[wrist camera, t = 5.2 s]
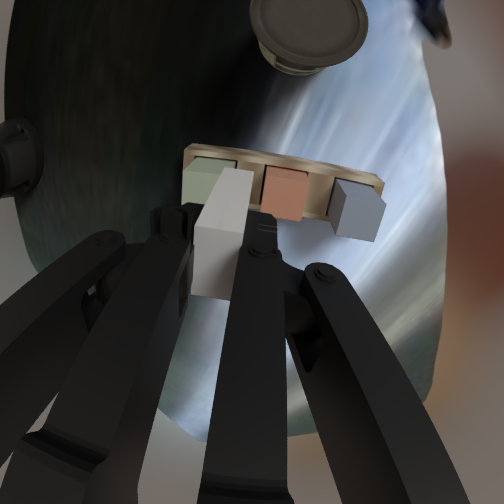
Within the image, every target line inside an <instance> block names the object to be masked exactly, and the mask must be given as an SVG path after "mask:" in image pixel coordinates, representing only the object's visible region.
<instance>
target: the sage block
mask: <svg viewBox="0 0 504 504" xmlns="http://www.w3.org/2000/svg"><path fill="white" fill-rule="evenodd" d="M235 166H236V160H229V159H220V158H212V157H202V156H198V157H197V158H196V159H195V160H194V161H193V162H191V163H190V164H189V165H188V166H187V167H186V168H185V169H184V170H183V181H182V205H183V204H185V203H187V202H192V203H199V204H206V202H207V200H208V198H209V196H210V194H211V192H212V190H213V188H214V186H215V184H216V182H217V181H218V179H219V177H220V175H221V173H222V171H223V169H224V167H227V168H234V169H235Z"/></svg>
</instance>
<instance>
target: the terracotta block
mask: <svg viewBox="0 0 504 504" xmlns="http://www.w3.org/2000/svg"><path fill="white" fill-rule="evenodd" d="M308 188H309V180H308V177H307V174H306V171H303V170H297V169H291V168H285V167H279V166H273V165H267V168H266V174H265V181H264V187H263V193H262V201H261V210H260V212H263V213H269V214H272V215H273V216H274V217H275V218H282V219H288V220H294V221H300V222H301V219H302V215H303V211H304V206H305V202H306V197H307V193H308Z"/></svg>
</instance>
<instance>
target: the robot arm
mask: <svg viewBox="0 0 504 504" xmlns="http://www.w3.org/2000/svg"><path fill="white" fill-rule="evenodd" d="M42 169H43V148H42V144H41V140H40V137H39V135H38V133H37V131H36V129H35V127H34V126H33V125H32V124H31V123H30V122H29V121H28V120H27V119H25V118H22V117H15V118H12V119H9V120H6V121H4V122H3V123H1V124H0V198H6V197H12V196H19V195H22V194H25V193H26V192H28V191H30V190H31V189H33V188H34V187H35V186H36V185H37V183H38V181H39V179H40V177H41V174H42ZM253 176H254V172H253V171H247V170H240V169H234V168H227V167H224V169H223V171H222V173H221V175H220V177H219V179H218V181H217V182H216V184H215V186H214V188H213V190H212V192H211V194H210V196H209V198H208V200H207V202H206V204H199V203H192V202H187V203H185V204H183V205H181V206H173V205H167V206H160V207H157V208H154V209H153V210H152V211H150V222H151V235H150V237H149V238H148V240H147V241H146V243H138V244H126V240H125V236H124V235H123V234H122V233H120V232H118V231H113V230H103V231H100V232H97V233H95V234H93V235H91V236H89V237H88V238H86V239H85V240H83V241H82V242H81V243H79V244H78V245H76V246H75V247H73V248H72V249H71V250H69V251H68V252H67V253H65V254H64V255H62V256H61V257H60V258H58V259H57V260H56V261H54V262H53V263H52V264H50V265H49V266H48V267H46V268H45V269H44V270H42V271H41V272H40V273H39V274H37V275H36V276H35V277H33V278H32V279H31V280H30V281H28V282H27V283H26V284H25V285H24V286H22V287H21V288H20V289H19V290H17V291H16V292H15V293H14V294H13V295H12V296H10V297H9V298H8V299H7V300H6V301H4V303H2V304H1V305H0V468H1V466H2V465H3V464H4V462H5V461H6V460H7V459H8V457H9V456H10V455H11V453H12V452H13V450H14V452H13V454H12V457H11V459H10V462H9V465H8V468H7V470H6V473H5V476H4V479H3V482H2V485H1V488H0V504H138V493H137V487H138V481H139V477H140V473H141V468H142V464H143V460H144V456H145V452H146V448H147V444H148V440H149V436H150V433H151V429H152V425H153V421H154V417H155V414H156V410H157V407H158V403H159V399H160V396H161V392H162V389H163V385H164V382H165V378H166V375H167V371H168V368H169V365H170V361H171V358H172V354H173V351H174V348H175V345H176V341H177V338H178V335H179V332H180V328H181V325H182V322H183V319H184V316H185V313H186V309H187V306H188V293H189V290H190V287H191V294H193V295H198V296H204V297H210V298H216V299H222V300H228V301H230V306H229V311H228V317H227V323H226V329H225V335H224V341H223V346H222V352H221V358H220V364H219V370H218V376H217V382H216V389H215V395H214V401H213V407H212V413H211V419H210V426H209V432H208V438H207V446H206V451H205V458H204V464H203V471H202V478H201V483H200V488H199V494H198V499H197V504H294V500H293V499H292V497H291V495H290V494H289V492H288V488H287V377H286V340H287V343H288V346H289V348H290V351H291V354H292V357H293V360H294V363H295V366H296V369H297V372H298V375H299V378H300V380H301V383H302V386H303V389H304V392H305V395H306V398H307V401H308V404H309V407H310V410H311V413H312V416H313V418H314V421H315V424H316V427H317V430H318V433H319V436H320V439H321V442H322V445H323V448H324V451H325V453H326V457H327V460H328V463H329V466H330V469H331V471H332V474H333V477H334V480H335V483H336V486H337V489H338V492H339V495H340V498H341V501H342V504H470V502H469V500H468V497H467V495H466V493H465V491H464V488H463V486H462V483H461V481H460V479H459V477H458V474H457V472H456V470H455V468H454V466H453V463H452V461H451V459H450V457H449V455H448V453H447V451H446V449H445V447H444V445H443V443H442V441H441V439H440V437H439V435H438V433H437V431H436V429H435V427H434V425H433V423H432V421H431V419H430V417H429V415H428V413H427V411H426V410H425V408H424V406H423V404H422V402H421V400H420V398H419V396H418V395H417V393H416V391H415V389H414V387H413V386H412V384H411V382H410V380H409V378H408V377H407V375H406V373H405V371H404V370H403V368H402V366H401V364H400V363H399V361H398V359H397V358H396V356H395V354H394V353H393V351H392V349H391V348H390V346H389V344H388V343H387V341H386V339H385V338H384V336H383V334H382V333H381V331H380V329H379V328H378V326H377V324H376V323H375V321H374V320H373V318H372V316H371V315H370V313H369V312H368V310H367V309H366V307H365V305H364V304H363V302H362V301H361V299H360V298H359V296H358V295H357V293H356V291H355V290H354V288H353V287H352V285H351V284H350V282H349V281H348V279H347V278H346V276H345V275H344V274H343V273H342V272H341V271H340V270H339V269H337V268H336V267H334V266H333V265H329V264H327V263H320V262H317V263H311V264H309V265H307V266H306V268H305V270H304V271H303V270H300V269H297V268H295V267H293V266H290V265H289V264H287V263H285V262H284V261H283V260H282V254H281V252H280V250H278V242H277V220H276V219H275V218H274V216H273V215H272V214H269V213H263V212H257V211H250V210H248V206H249V200H250V194H251V188H252V182H253ZM92 286H94V290H95V292H94V293H93V294H91V295H88V292H87V290H89V289H90V288H91V287H92ZM285 337H286V339H285ZM58 392H59V393H58ZM57 393H58V395H57ZM55 395H57V397H56V399H55V401H54V403H53V406H52V408H51V410H50V412H49V414H48V417H47V419H46V422H45V424H44V425H43V427H42V428H41V429H40V430H39V431H36V432H30V433H27V434H26V432H27V431H28V430H29V429H30V428H31V426H32V425H33V424H34V422H35V421H36V420H37V419H38V417H39V416H40V414H41V413H42V412H43V411H44V410H45V408H46V407H47V405H48V404H49V403H50V402H51V401H52V399H53V398H54V397H55Z"/></svg>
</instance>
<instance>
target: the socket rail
mask: <svg viewBox="0 0 504 504" xmlns="http://www.w3.org/2000/svg"><path fill="white" fill-rule="evenodd" d="M198 156H205V157H214V158H223V159H231V160H238V164H237V169H240V170H247V171H253V172H254V176H253V182H252V188H251V194H250V200H249V206H248V208H250V209H257V210H261V201H262V195H261V194H260V193H261V187H262V180H263V174H264V167H265V164H267V165H273V166H279V167H285V168H291V169H297V170H303V171H306V174H307V177H308V180H309V188H308V193H307V197H306V202H305V206H304V211H303V215H302V217H306V218H312V219H318V220H324V221H329V222H330V219H329V216H328V214H327V208H328V203H329V199H330V195H331V191H332V186H333V182H334V178H335V177H338V178H343V179H348V180H352V181H357V182H361V183H364V184H368V185H370V186H371V187H372V188H373V189H374V190H375V192H376V193H377V194H378V195H379V196H380V197H381V195H382V191H383V188H384V184H385V183H384V182H383V181H382V180H381V179H380V178H379V177H378V176H377V175H376V174H372V173H368V172H364V171H360V170H356V169H351V168H347V167H343V166H338V165H333V164H329V163H324V162H319V161H314V160H308V159H303V158H298V157H292V156H286V155H280V154H274V153H268V152H261V151H254V150H247V149H239V148H231V147H223V146H214V145H204V144H193V143H192V144H191V145H189V146H188V147H187V148H185V149H184V161H183V170H184V169H185V168H186V167H187V166H188V165H189V164H190V163H191V162H193V161H194V160H195V159H196V158H197V157H198ZM182 181H183V180H182Z"/></svg>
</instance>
